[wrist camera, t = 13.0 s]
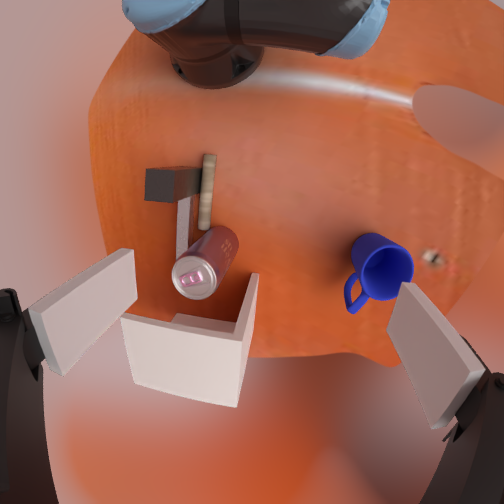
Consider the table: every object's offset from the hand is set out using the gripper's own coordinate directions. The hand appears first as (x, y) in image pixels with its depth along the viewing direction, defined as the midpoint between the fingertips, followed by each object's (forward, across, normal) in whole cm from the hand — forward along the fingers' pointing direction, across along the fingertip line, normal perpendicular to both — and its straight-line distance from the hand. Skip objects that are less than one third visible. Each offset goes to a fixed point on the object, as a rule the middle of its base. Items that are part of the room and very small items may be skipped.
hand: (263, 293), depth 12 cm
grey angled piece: (+32, -12, -4) cm, 34 cm away
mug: (+32, +15, -8) cm, 36 cm away
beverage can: (+32, -9, -8) cm, 34 cm away
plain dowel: (+32, -12, 0) cm, 34 cm away
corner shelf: (+32, -10, -18) cm, 38 cm away
